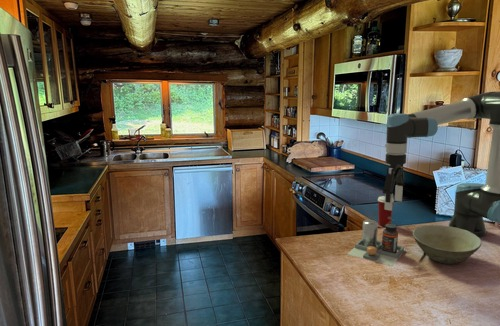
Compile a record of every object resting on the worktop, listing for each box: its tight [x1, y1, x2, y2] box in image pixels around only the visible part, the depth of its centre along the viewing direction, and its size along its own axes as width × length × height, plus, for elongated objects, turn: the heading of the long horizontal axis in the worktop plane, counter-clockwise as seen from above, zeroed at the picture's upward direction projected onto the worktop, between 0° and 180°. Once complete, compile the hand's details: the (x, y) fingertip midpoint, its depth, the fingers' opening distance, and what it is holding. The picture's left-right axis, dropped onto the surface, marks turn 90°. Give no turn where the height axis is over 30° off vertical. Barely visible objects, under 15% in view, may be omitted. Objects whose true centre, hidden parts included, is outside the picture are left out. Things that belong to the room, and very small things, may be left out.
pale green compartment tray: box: [347, 238, 406, 267], centre depth 150 cm, size 18×18×2 cm
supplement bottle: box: [381, 223, 399, 253], centre depth 148 cm, size 6×6×11 cm
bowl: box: [412, 224, 482, 265], centre depth 143 cm, size 24×24×10 cm
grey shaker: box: [361, 219, 379, 247], centre depth 153 cm, size 6×6×11 cm
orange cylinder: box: [367, 246, 377, 255], centre depth 144 cm, size 4×4×2 cm
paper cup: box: [377, 195, 395, 228], centre depth 180 cm, size 8×8×14 cm
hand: (393, 205), depth 146 cm, fingers open, 13 cm apart
